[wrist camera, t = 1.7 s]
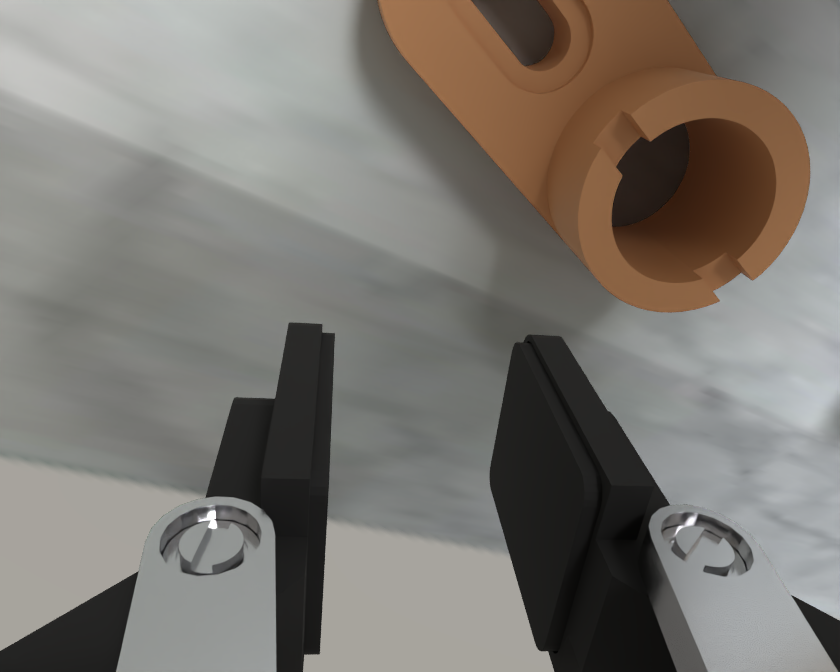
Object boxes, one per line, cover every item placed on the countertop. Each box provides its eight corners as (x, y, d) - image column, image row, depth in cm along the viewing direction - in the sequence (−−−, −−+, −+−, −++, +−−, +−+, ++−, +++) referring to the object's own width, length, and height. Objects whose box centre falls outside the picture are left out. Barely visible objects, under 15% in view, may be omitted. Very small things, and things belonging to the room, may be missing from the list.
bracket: (747, 163, 30) (848, 206, 24) (600, 283, 32) (659, 351, 26) (496, -214, 23) (549, -288, 17) (329, -28, 25) (322, -35, 19)
